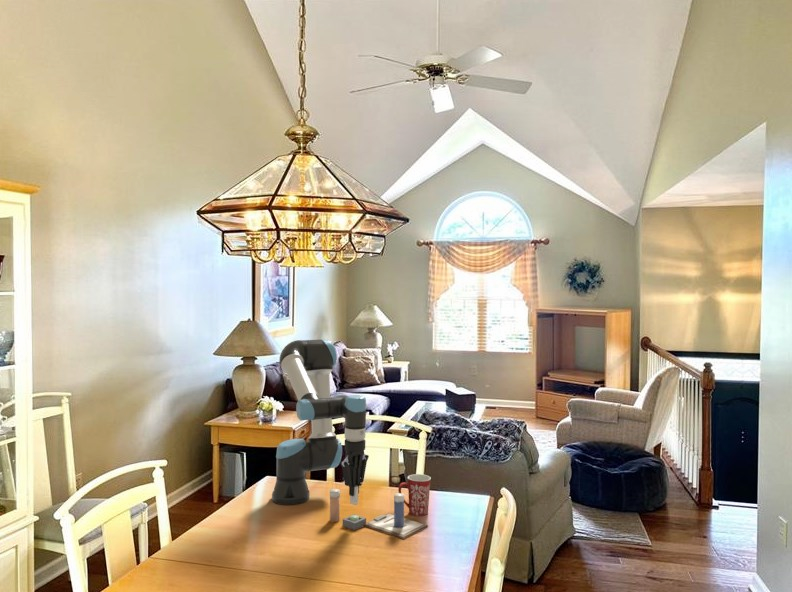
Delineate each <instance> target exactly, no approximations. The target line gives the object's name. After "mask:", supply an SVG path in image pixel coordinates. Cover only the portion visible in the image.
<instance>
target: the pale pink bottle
mask: <svg viewBox="0 0 792 592" xmlns="http://www.w3.org/2000/svg"><path fill="white" fill-rule="evenodd" d="M340 497H341V489H339V488H332V489H330V490H329V521H330V522H331V523H339V522H340V505H341V504H340V502H341V501H340V500H341V498H340Z"/></svg>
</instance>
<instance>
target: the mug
mask: <svg viewBox="0 0 792 592" xmlns="http://www.w3.org/2000/svg"><path fill="white" fill-rule="evenodd" d="M431 479H432V477H431V476H429V475H427V474H421V473H415V474H410V475H408V476H407V480H408V481H407V482H401V483H400V484H399V486H398V490H397V491H398V493H402V487H403V486H406V488H407V491H408V502H407V501H406V500H405V499H404V505H406V507H407V508H408V512H409V514H410V515H413V516H417V517H418V516H419V517H422V516H426V515H428V514H429V502H430V489H431V488H430V487H431Z"/></svg>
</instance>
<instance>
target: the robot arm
mask: <svg viewBox="0 0 792 592" xmlns="http://www.w3.org/2000/svg"><path fill="white" fill-rule="evenodd" d="M337 360H338V357H337V350H336V347H335V345H334V343H333V341H331V340H328V339H304V340H302V339H300V340H293V341H291V342H289V343H288V344H287V345H285V346H284V347H283V349H282V350H281V352H280V355H279V366H280V368H281V370H282V372H283V373H285V374H286V375H287V378H288V380H289V383H290V385H291V387H292V389H293V391H294V393H295V397H296V399H297V403H296V404H295V405H296V406H295V407H296V409H295V412H296V416H297V418H298V420H300V421H311V422H310V423H311V434H310V435H309V436H308V442H307V441H306V440H305V439H304V438H292V439H287V440H284V441H282V442H280V443H279V444H278V445H277V447H276V455H275V458H276V480H275V484H274V488H273V491H272V494H271V501H272V503H275V504H278V505H283V506H285V505H286V506H293V505H299V504H303V503H305V502H307V501H308V500H310V493H311V492H310V490H309V487H308V484H307V479H306V472H313V471H321V470H329V469H334V468H337V467H338V466H339V465H340V466H341V468H342V469H341V470H342V474H343V475H342V476H343V480H344V486H346V487H348V489H349V490H348V493H349V494H348V495H349V504H350V505H354V506H357V505H359V493H360V487H361V486H362V485H363V484H362V483H364V481H365V475H366V469H367V462H368V460H369V454H365V450H366V428H367V427H366V426H367V424H366V421H367V419H366V418H367V399H366V397H365V396H364V395H359V394H349V395H346V394H338V395H337V396H336V397H331V384H330V383H331V382H330V374H331V372H333V367H335V366H336V365H337V362H338V361H337ZM337 418H343V419H344V450H345V456H344V460H342V456H343V445H342V441H341V440H340V439H339V438H337V434H336V433H335V432H334V431H333V420H332V419H337Z"/></svg>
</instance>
